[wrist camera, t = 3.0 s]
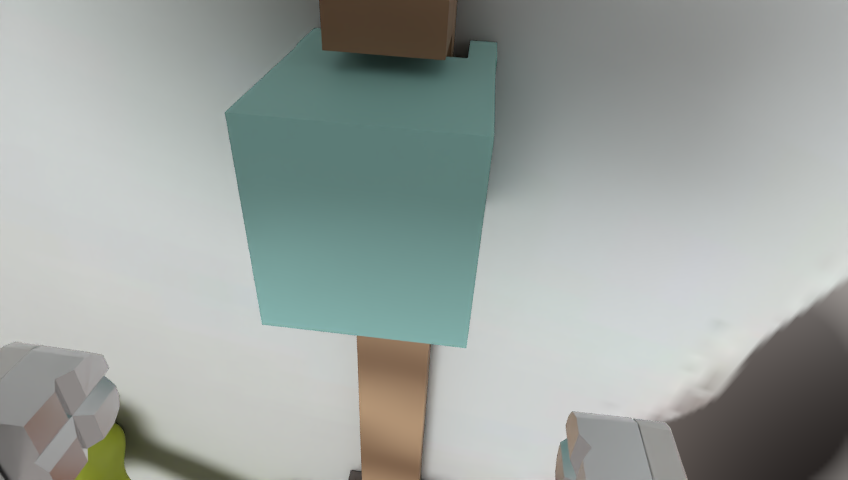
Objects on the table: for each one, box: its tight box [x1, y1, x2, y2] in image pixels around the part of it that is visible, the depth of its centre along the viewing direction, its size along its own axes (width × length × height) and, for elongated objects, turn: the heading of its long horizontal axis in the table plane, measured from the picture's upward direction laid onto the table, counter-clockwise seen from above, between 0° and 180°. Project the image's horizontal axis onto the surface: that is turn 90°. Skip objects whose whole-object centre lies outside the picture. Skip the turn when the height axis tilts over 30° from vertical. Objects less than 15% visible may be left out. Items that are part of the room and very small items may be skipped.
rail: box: [319, 0, 457, 480], centre depth 22 cm, size 30×5×4 cm, turn 177°
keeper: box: [225, 28, 497, 348], centre depth 15 cm, size 6×6×7 cm
